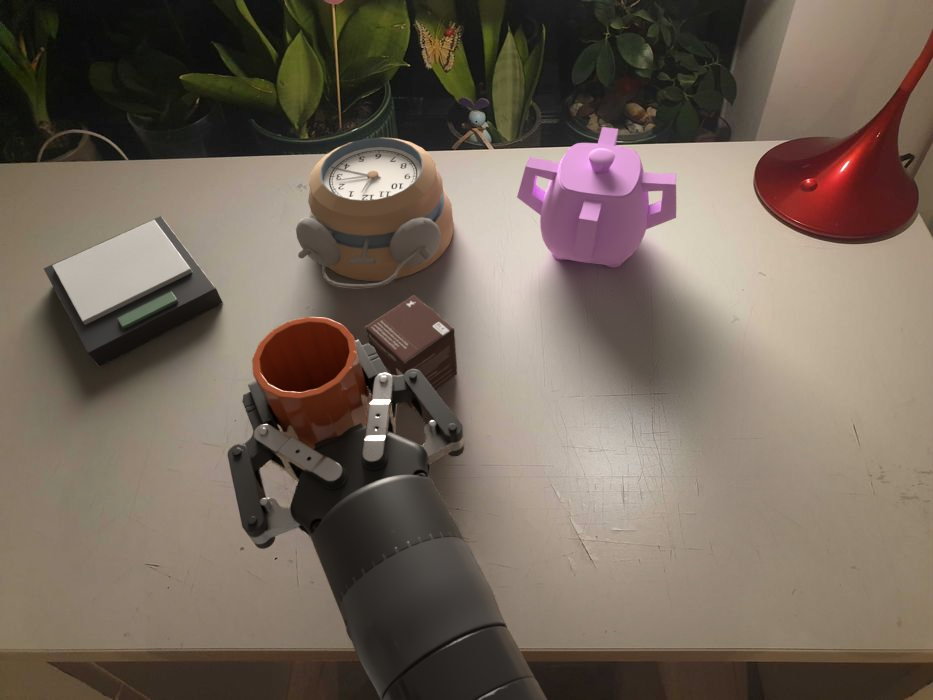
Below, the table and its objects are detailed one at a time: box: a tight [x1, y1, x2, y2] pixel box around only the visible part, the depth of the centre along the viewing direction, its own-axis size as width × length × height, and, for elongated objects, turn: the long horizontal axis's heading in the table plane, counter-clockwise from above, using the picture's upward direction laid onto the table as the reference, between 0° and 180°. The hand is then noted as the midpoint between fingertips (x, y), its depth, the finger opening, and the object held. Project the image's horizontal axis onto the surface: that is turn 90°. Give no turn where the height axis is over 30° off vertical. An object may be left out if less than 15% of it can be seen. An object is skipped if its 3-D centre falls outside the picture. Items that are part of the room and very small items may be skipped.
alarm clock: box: [295, 137, 455, 290], centre depth 74 cm, size 17×9×23 cm
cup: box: [251, 316, 372, 449], centre depth 44 cm, size 6×6×10 cm
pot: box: [516, 126, 677, 268], centre depth 72 cm, size 18×17×12 cm
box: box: [364, 294, 458, 408], centre depth 63 cm, size 6×6×7 cm
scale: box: [43, 215, 224, 368], centre depth 74 cm, size 14×16×3 cm
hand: (306, 369), depth 45 cm, fingers closed on cup, 6 cm apart
